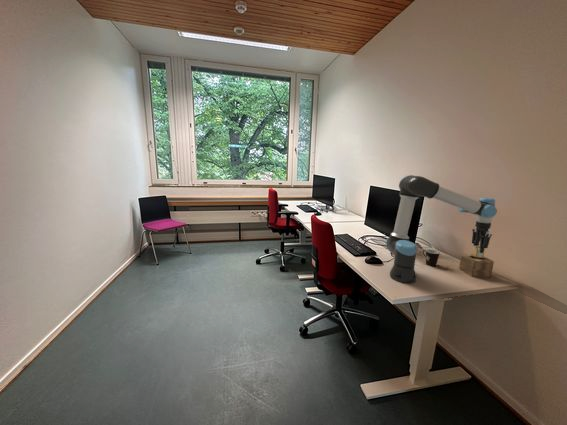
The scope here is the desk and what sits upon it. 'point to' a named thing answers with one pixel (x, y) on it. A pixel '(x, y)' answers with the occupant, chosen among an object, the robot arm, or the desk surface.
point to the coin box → (476, 266)
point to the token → (475, 252)
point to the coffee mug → (431, 257)
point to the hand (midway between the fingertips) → (477, 255)
